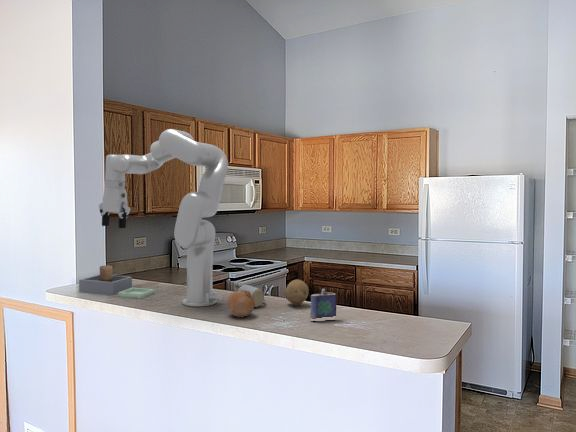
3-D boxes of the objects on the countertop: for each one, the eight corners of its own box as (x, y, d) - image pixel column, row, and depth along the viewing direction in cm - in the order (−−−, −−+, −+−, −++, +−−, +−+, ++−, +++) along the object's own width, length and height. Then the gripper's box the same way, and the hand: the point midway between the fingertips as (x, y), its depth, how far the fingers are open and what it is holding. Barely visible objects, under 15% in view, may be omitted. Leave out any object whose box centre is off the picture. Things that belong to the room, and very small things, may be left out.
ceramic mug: (252, 310, 165) (252, 288, 164) (235, 306, 170) (236, 285, 169) (270, 305, 173) (271, 285, 173) (254, 301, 178) (255, 282, 178)
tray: (154, 293, 187) (154, 289, 187) (140, 299, 177) (140, 294, 177) (132, 291, 189) (132, 287, 189) (117, 297, 180) (118, 292, 180)
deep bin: (131, 288, 196) (131, 276, 195) (113, 294, 183) (113, 282, 183) (99, 285, 200) (99, 274, 199) (79, 291, 187) (79, 279, 187)
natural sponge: (309, 309, 167) (309, 282, 167) (284, 308, 167) (285, 281, 167) (307, 303, 176) (308, 277, 176) (284, 302, 176) (285, 277, 176)
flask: (311, 322, 150) (312, 290, 150) (308, 320, 153) (309, 288, 153) (337, 320, 153) (338, 289, 153) (333, 318, 156) (334, 287, 156)
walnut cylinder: (115, 289, 193) (115, 265, 193) (107, 291, 188) (107, 267, 188) (104, 288, 194) (104, 265, 194) (97, 290, 190) (97, 267, 189)
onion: (251, 324, 157) (264, 299, 157) (234, 322, 150) (248, 296, 149) (233, 309, 163) (246, 285, 162) (216, 307, 155) (230, 282, 155)
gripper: (137, 186, 185) (135, 228, 186) (107, 184, 193) (106, 224, 194) (122, 186, 178) (121, 229, 180) (92, 183, 187) (91, 225, 188)
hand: (113, 226), depth 187 cm, fingers open, 9 cm apart
